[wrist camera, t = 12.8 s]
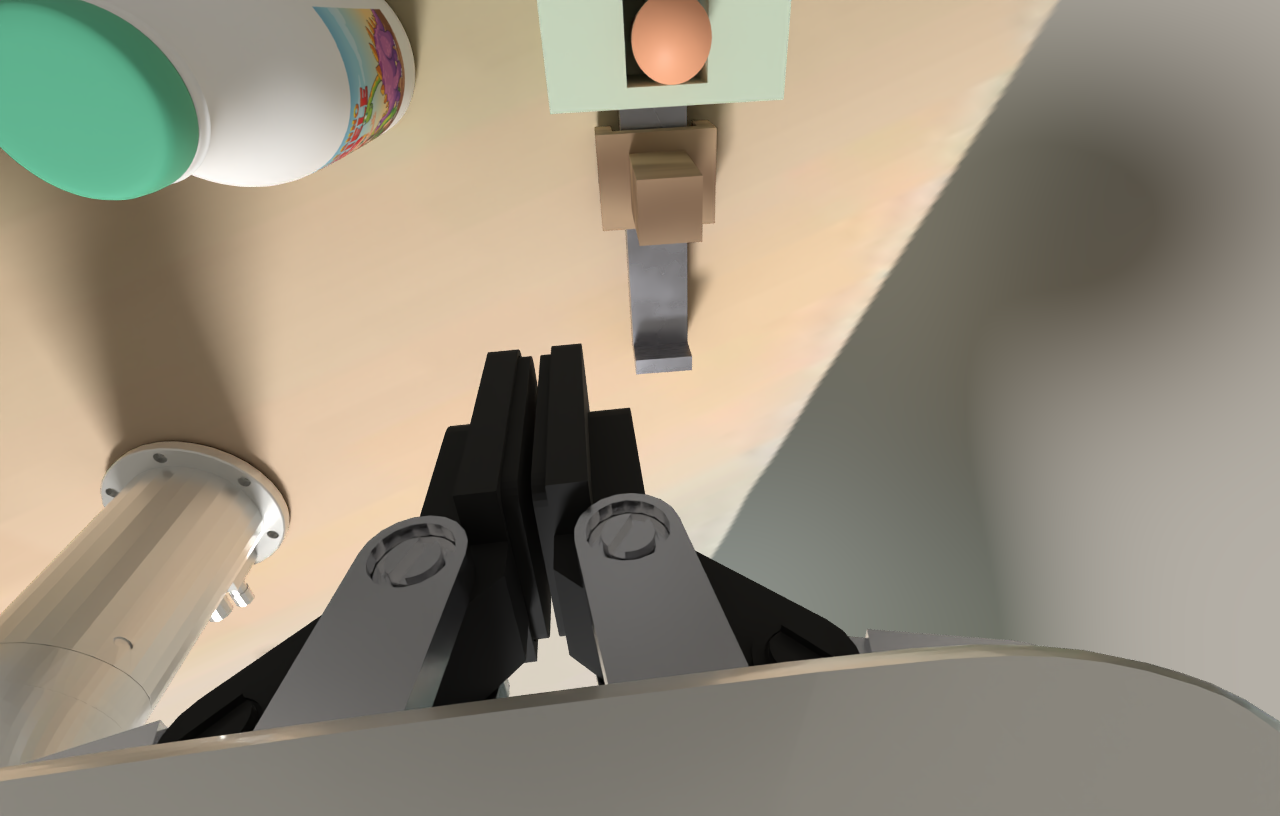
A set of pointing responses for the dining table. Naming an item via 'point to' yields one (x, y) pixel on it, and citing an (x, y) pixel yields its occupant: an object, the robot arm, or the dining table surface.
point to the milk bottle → (195, 89)
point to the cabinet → (612, 80)
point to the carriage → (658, 181)
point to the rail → (657, 275)
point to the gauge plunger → (671, 39)
